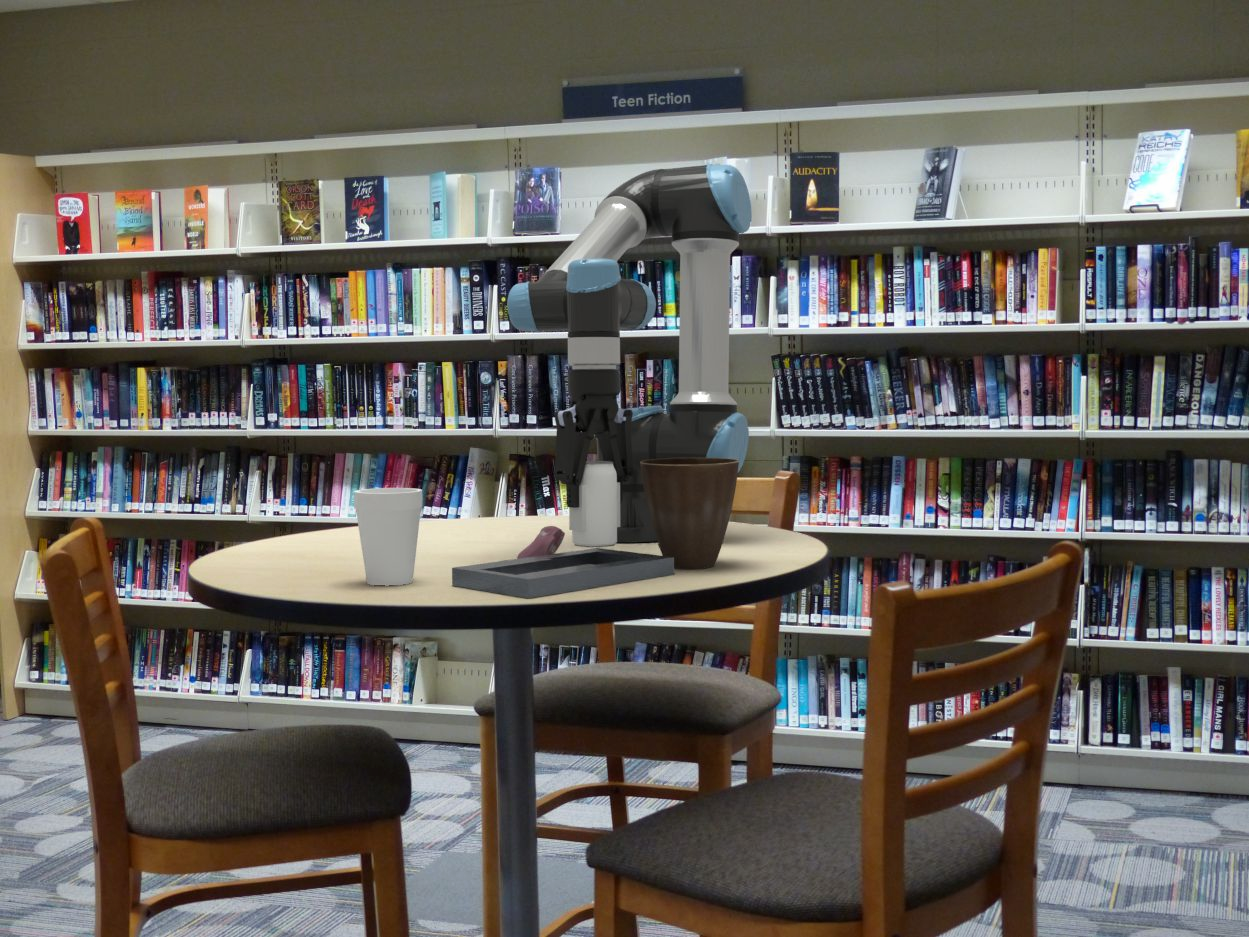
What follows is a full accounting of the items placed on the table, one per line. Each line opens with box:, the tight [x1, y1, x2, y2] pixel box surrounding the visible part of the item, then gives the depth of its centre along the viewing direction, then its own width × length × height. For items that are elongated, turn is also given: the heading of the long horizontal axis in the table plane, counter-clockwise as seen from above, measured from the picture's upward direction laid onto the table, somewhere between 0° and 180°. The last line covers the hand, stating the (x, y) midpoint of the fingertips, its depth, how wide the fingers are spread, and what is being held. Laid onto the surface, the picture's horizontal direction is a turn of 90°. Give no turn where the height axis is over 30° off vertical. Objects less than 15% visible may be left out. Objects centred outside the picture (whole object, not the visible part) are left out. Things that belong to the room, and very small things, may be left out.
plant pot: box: [640, 458, 739, 570], centre depth 199 cm, size 15×15×16 cm
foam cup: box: [353, 487, 423, 587], centre depth 186 cm, size 10×9×13 cm
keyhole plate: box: [451, 547, 675, 599], centre depth 187 cm, size 28×16×2 cm, turn 135°
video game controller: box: [516, 525, 566, 559], centre depth 205 cm, size 10×5×7 cm, turn 169°
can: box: [571, 460, 618, 548], centre depth 190 cm, size 6×6×12 cm
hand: (595, 528), depth 191 cm, fingers closed on can, 6 cm apart
